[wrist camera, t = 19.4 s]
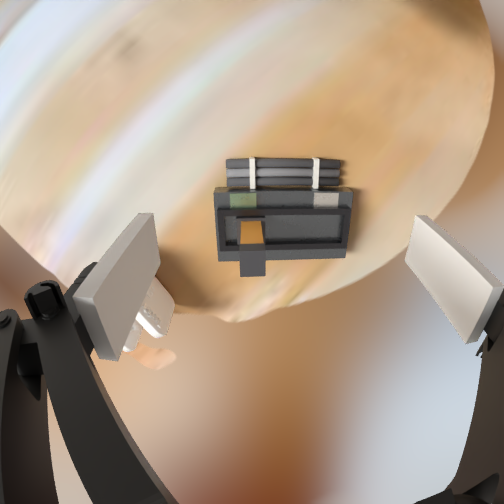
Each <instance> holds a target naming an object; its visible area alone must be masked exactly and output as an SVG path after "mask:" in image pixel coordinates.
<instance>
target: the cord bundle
mask: <svg viewBox="0 0 504 504" xmlns="http://www.w3.org/2000/svg"><path fill="white" fill-rule="evenodd" d="M257 167H304V168H257ZM226 168H235V169H226V175H227V187H232V186H250V189H255V186H312V188H313V189H318V186H339V178H330V177H339V176H340V171H339V168H340V160H327V159H319V158H317V157H312V159H255V157H249V159H227V160H226ZM327 168H338V169H327ZM278 176H292V177H278ZM228 177H240V178H228Z"/></svg>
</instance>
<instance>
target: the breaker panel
mask: <svg viewBox="0 0 504 504" xmlns="http://www.w3.org/2000/svg"><path fill="white" fill-rule="evenodd" d="M352 199H353V191H351V190H350V189H349V188H348V187H331V186H318V189H313V188H312V186H255V189H250V187H218V188H215V190H214V208H215V222H216V236H217V249H218V261H240V256H239V245H237V221H236V217H237V216H265V250H266V260H296V259H330V258H345V256H346V249H347V242H348V234H349V226H350V218H351V209H352Z"/></svg>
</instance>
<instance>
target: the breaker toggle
mask: <svg viewBox="0 0 504 504" xmlns="http://www.w3.org/2000/svg"><path fill="white" fill-rule="evenodd" d="M236 221H237V245H239V256H240V277H254V276H265V262H266V250H265V216H237V217H236Z"/></svg>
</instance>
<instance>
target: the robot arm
mask: <svg viewBox="0 0 504 504" xmlns="http://www.w3.org/2000/svg"><path fill="white" fill-rule="evenodd" d="M405 262H406V263H407V265H408V266H409V267H410V268H411V270H412V271H413V272H414V273H415V275H416V276H417V277H418V279H419V280H420V281H421V282H422V284H423V285H424V286H425V288H426V289H427V290H428V292H429V293H430V294H431V295H432V297H433V298H434V300H435V301H436V302H437V304H438V305H439V307H440V308H441V309H442V311H443V312H444V314H445V315H446V316H447V318H448V319H449V321H450V322H451V324H452V325H453V326H454V328H455V329H456V331H457V332H458V334H459V335H460V337H461V338H462V340H463V341H464V343H465V344H467V343H471V342H476V341H478V339H479V337H480V335H481V333H482V331H483V330H484V331H485V332H486V333H487V336H486V338H485V340H484V341H483V343H482V345H481V346H480V348H479V350H478V351H477V354H476V356H478V355H479V353H481V352H483V353H482V356H481V358H482V363H481V372H480V378H479V385H478V391H477V397H476V402H475V407H474V412H473V417H472V422H471V425H470V430H469V433H468V437H467V441H466V445H465V448H464V451H463V455H462V458H461V461H460V464H459V467H458V470H457V473H456V475H455V477H454V479H453V480H452V482H451V483H450V484H449V485H448V486H447V488H446V489H445V490H444V491H443V492H441V493H438V494H436V495H433V496H431V497H428V498H426V499H423V500H421V501H418V502H416V503H414V504H504V285H503V284H502V283H501V282H500V281H499V280H498V279H497V278H496V277H495V276H494V275H493V274H492V273H491V272H490V271H489V270H488V269H487V268H486V267H485V266H484V265H483V264H482V263H481V262H480V261H478V259H477V258H475V257H474V256H473V255H472V254H471V253H470V252H469V251H468V250H467V249H466V248H465V247H463V246H462V245H461V244H460V243H458V241H457V240H455V239H454V238H453V237H452V236H451V235H450V234H448V233H447V232H446V231H445V230H444V229H443V228H441V227H440V226H439V225H438V224H437V223H435V222H434V221H433V220H432V219H430V218H429V217H428V216H424V215H415V220H414V225H413V229H412V233H411V238H410V242H409V246H408V250H407V254H406V258H405ZM160 264H161V261H160V255H159V249H158V243H157V236H156V230H155V223H154V215H153V213H138V215H137V216H136V217H135V218H134V219H133V220H132V221H131V223H130V224H129V225H128V226H127V227H126V228H125V230H124V231H123V232H122V233H121V234H120V236H119V237H118V238H117V239H116V240H115V242H114V243H113V244H112V245H111V246H110V248H109V249H108V250H107V251H106V253H105V254H104V255H103V256H102V258H101V259H100V260H99V262H93V263H92V264H90V265H89V266H87V267H86V268H84V270H83V271H82V272H81V273H80V275H79V276H78V278H76V280H75V281H74V284H72V285H71V286H70V288H69V289H68V290H67V292H66V293H65V294H64V296H63V294H62V292H61V289H60V286H59V284H58V283H57V282H55V281H52V280H49V281H43V282H40V283H38V284H36V285H34V286H33V287H31V288H30V289H29V290H28V291H27V293H26V294H25V297H24V300H25V303H26V305H27V307H28V309H29V311H30V313H31V315H32V317H33V319H26V320H20V318H19V316H18V314H17V312H16V311H15V310H13V309H7V310H4V311H1V312H0V504H59V502H58V497H57V493H56V487H55V481H54V476H53V469H52V462H51V452H50V443H49V431H48V412H47V389H48V392H49V396H50V399H51V402H52V406H53V409H54V412H55V416H56V419H57V421H58V425H59V428H60V430H61V433H62V436H63V438H64V441H65V444H66V446H67V449H68V452H69V454H70V456H71V459H72V461H73V463H74V466H75V468H76V470H77V472H78V475H79V476H80V479H81V481H82V483H83V485H84V487H85V489H86V491H87V493H88V495H89V497H90V499H91V501H92V502H93V504H179V503H178V502H177V501H176V499H175V498H174V497H173V496H172V494H171V493H170V492H169V491H168V489H167V488H166V487H165V485H164V484H163V483H162V481H161V480H160V478H159V477H158V476H157V474H156V473H155V471H154V470H153V469H152V467H151V466H150V464H149V463H148V461H147V460H146V458H145V457H144V455H143V454H142V452H141V451H140V449H139V447H138V446H137V444H136V443H135V441H134V439H133V438H132V436H131V434H130V433H129V431H128V429H127V428H126V426H125V424H124V423H123V421H122V419H121V417H120V415H119V414H118V412H117V410H116V408H115V406H114V404H113V402H112V400H111V399H110V397H109V395H108V393H107V391H106V389H105V387H104V384H103V382H102V380H101V378H100V376H99V374H98V372H97V370H96V367H95V365H94V363H93V361H92V359H91V357H90V354H91V352H92V350H93V348H94V349H95V351H96V353H97V355H98V357H99V358H100V359H105V360H112V361H118V360H119V357H120V355H121V352H122V350H123V347H124V345H125V342H126V340H127V338H128V335H129V333H130V330H131V328H132V326H133V323H134V321H135V319H136V316H137V314H138V312H139V309H140V307H141V305H142V303H143V300H144V298H145V296H146V294H147V292H148V289H149V287H150V285H151V283H152V281H153V279H154V276H155V274H156V272H157V270H158V268H159V266H160Z"/></svg>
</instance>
